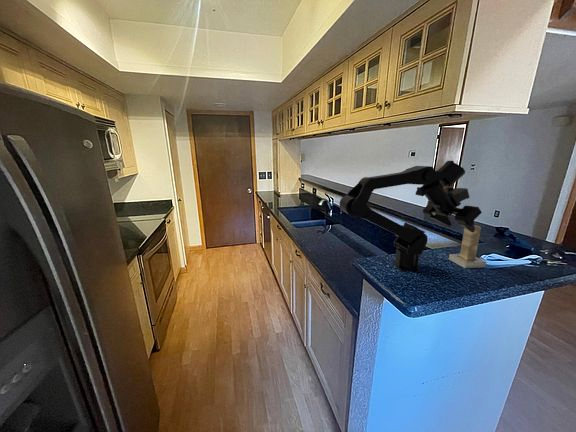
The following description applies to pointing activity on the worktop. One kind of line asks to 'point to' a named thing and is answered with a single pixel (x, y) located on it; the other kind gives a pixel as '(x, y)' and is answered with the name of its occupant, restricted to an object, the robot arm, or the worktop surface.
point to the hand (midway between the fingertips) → (461, 228)
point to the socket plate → (467, 264)
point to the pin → (470, 244)
